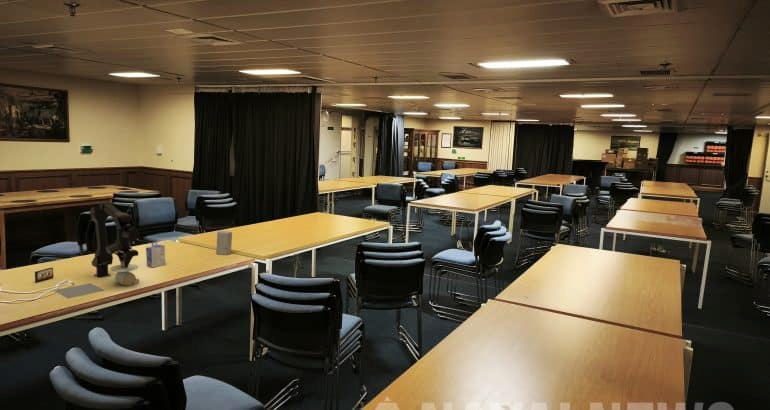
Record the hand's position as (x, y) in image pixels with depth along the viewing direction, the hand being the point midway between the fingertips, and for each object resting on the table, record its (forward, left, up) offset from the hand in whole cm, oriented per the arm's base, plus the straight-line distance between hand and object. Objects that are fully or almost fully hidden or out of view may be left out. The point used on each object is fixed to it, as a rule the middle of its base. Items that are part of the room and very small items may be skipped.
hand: (124, 266), depth 249 cm
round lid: (0, 0, -1) cm, 1 cm away
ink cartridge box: (-24, +30, -10) cm, 40 cm away
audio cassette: (-36, -25, -10) cm, 45 cm away
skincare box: (-21, +77, -10) cm, 80 cm away
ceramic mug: (0, +2, -10) cm, 11 cm away
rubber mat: (-5, -20, -10) cm, 23 cm away
